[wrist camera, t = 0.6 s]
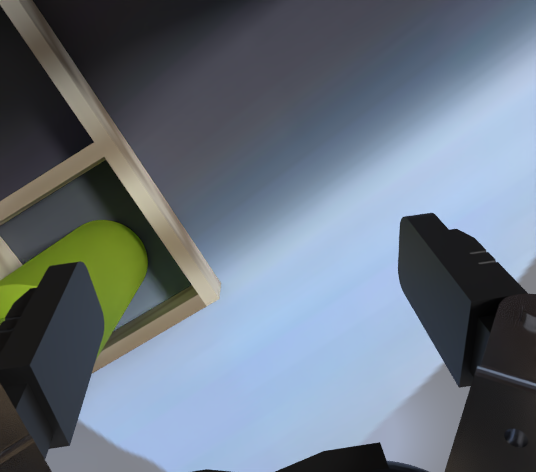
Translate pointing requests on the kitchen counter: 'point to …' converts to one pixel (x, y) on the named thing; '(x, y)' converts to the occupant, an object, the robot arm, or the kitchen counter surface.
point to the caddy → (130, 174)
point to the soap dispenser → (98, 264)
